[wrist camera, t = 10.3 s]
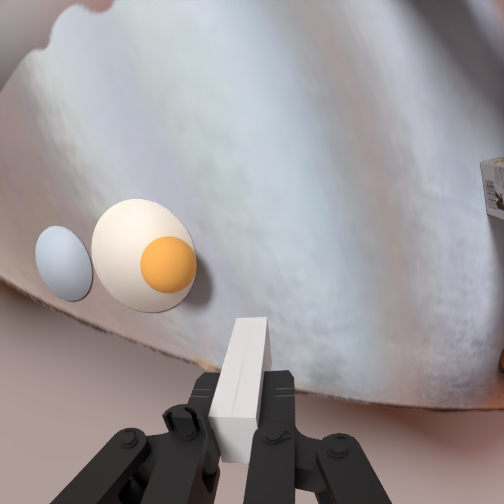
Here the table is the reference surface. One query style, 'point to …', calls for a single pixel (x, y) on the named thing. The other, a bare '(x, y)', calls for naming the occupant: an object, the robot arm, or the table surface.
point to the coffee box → (494, 186)
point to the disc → (135, 252)
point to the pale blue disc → (64, 263)
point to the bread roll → (502, 362)
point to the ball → (168, 264)
